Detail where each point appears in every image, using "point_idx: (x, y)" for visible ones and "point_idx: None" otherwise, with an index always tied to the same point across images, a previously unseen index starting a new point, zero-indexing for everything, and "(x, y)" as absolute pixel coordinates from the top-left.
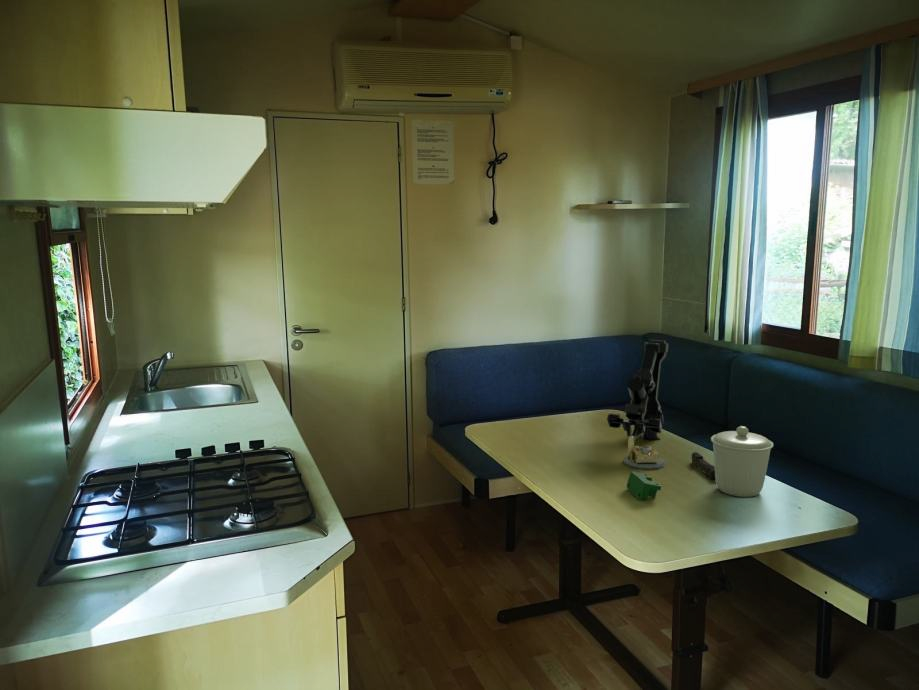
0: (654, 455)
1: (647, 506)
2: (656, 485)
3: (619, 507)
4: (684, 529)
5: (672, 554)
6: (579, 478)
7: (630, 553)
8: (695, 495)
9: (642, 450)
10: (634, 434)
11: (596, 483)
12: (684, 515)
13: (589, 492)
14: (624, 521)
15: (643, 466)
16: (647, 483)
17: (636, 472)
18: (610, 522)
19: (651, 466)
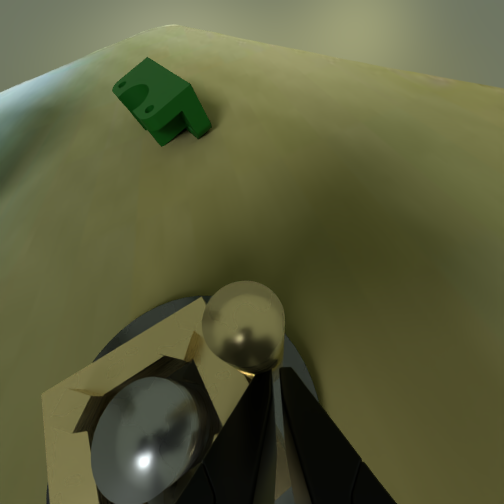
0: (89, 370)
1: None
2: (123, 77)
3: (209, 77)
4: (106, 74)
5: (131, 41)
6: (359, 131)
7: (176, 28)
8: (42, 173)
9: (161, 346)
10: (214, 460)
11: (297, 127)
12: (96, 100)
13: (287, 92)
14: (193, 57)
15: (181, 301)
16: (142, 62)
17: (174, 96)
18: (212, 50)
19: (142, 321)
